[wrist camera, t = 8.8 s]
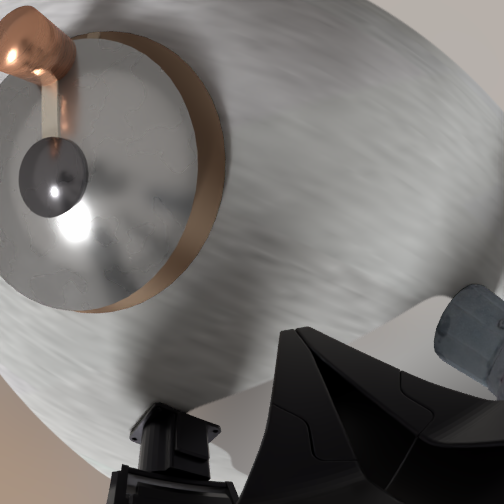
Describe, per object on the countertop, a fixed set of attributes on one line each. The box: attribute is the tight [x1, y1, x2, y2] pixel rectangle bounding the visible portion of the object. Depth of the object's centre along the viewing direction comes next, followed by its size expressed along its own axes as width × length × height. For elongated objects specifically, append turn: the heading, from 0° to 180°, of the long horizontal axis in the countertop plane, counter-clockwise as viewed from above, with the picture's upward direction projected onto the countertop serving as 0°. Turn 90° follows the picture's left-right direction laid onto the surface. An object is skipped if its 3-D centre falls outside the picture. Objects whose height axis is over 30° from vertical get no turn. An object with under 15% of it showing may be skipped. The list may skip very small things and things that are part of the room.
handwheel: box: [0, 6, 198, 311], centre depth 11 cm, size 16×15×7 cm
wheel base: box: [71, 31, 225, 313], centre depth 15 cm, size 18×18×1 cm
